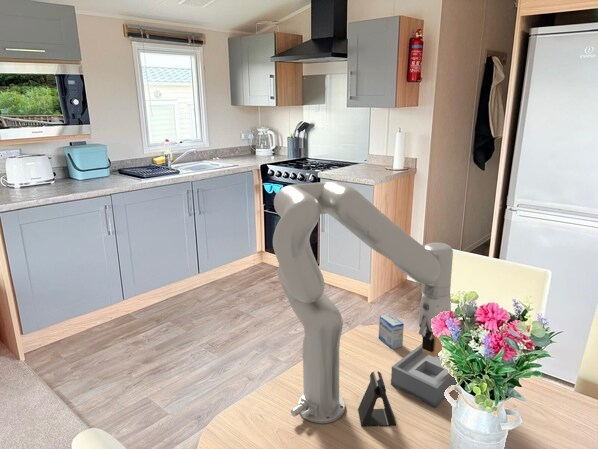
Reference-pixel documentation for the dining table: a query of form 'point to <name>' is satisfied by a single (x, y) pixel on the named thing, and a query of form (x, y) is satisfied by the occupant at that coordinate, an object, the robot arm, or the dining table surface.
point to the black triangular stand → (366, 407)
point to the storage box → (422, 377)
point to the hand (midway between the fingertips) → (432, 346)
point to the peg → (436, 347)
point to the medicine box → (391, 331)
